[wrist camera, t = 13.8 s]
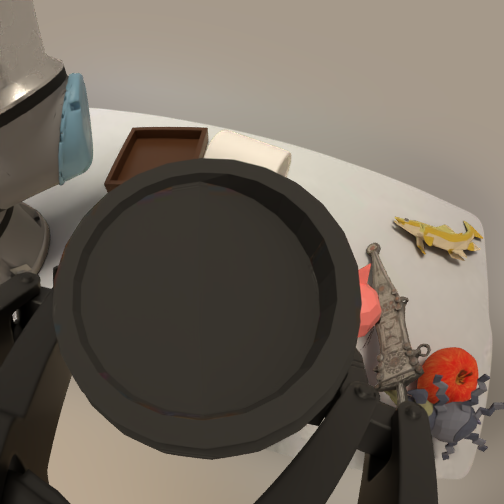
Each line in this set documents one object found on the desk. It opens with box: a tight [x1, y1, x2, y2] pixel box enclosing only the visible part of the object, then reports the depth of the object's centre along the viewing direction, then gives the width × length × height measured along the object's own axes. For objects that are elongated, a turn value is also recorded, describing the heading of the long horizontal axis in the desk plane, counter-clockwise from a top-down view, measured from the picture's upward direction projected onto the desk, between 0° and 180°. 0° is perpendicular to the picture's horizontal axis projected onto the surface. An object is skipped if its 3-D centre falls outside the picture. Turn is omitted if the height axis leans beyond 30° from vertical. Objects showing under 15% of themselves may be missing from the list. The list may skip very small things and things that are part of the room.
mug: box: [204, 130, 291, 177], centre depth 40 cm, size 12×10×8 cm
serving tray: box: [104, 127, 208, 193], centre depth 45 cm, size 14×14×3 cm
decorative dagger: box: [367, 243, 431, 407], centre depth 28 cm, size 7×2×30 cm
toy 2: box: [384, 374, 504, 460], centre depth 23 cm, size 15×4×15 cm
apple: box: [417, 347, 478, 404], centre depth 27 cm, size 8×8×8 cm
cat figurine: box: [358, 263, 381, 346], centre depth 29 cm, size 7×7×12 cm
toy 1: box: [394, 217, 483, 261], centre depth 41 cm, size 20×3×10 cm
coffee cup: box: [52, 158, 362, 460], centre depth 13 cm, size 8×8×15 cm
